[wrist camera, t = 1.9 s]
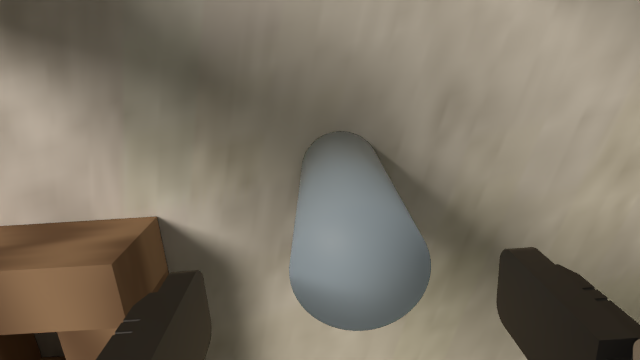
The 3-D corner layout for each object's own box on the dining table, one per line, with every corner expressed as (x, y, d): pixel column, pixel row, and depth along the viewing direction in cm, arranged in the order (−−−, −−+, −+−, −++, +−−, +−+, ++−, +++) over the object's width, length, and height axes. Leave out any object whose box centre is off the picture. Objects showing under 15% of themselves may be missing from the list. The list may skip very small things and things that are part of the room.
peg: (377, 129, 20) (432, 201, 11) (379, 202, 21) (429, 326, 12) (299, 134, 20) (282, 211, 11) (304, 207, 21) (295, 334, 12)
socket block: (156, 216, 22) (111, 264, 17) (193, 390, 25) (164, 469, 21) (-63, 230, 22) (-169, 281, 17) (6, 400, 25) (-65, 481, 21)
